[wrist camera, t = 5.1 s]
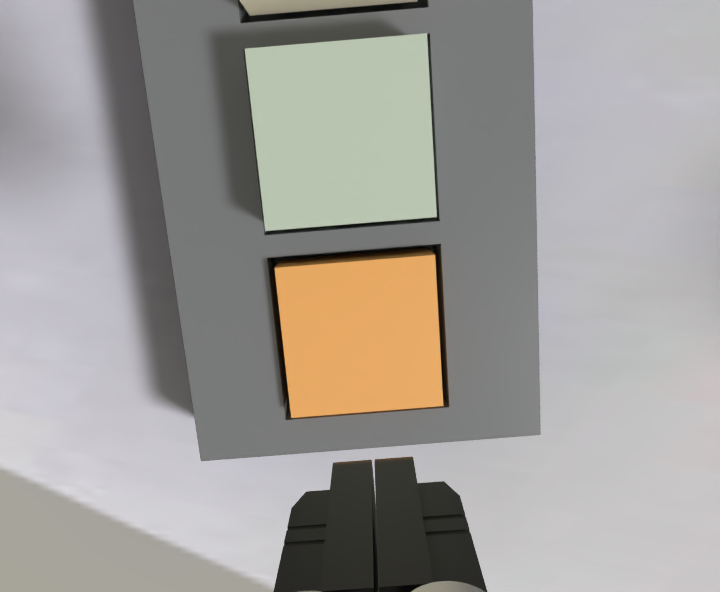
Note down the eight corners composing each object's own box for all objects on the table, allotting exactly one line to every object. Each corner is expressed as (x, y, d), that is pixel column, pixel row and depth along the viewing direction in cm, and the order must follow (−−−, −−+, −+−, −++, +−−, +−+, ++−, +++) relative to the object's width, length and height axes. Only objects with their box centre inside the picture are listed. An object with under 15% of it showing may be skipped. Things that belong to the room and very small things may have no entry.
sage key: (255, 60, 20) (244, 48, 18) (420, 46, 20) (427, 33, 18) (273, 225, 22) (265, 230, 20) (429, 212, 21) (436, 216, 20)
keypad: (133, -181, 21) (97, -237, 18) (503, -213, 21) (527, -275, 18) (218, 427, 26) (201, 461, 23) (519, 404, 26) (540, 434, 23)
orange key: (281, 259, 23) (274, 267, 21) (428, 247, 23) (435, 254, 21) (296, 397, 24) (291, 417, 22) (436, 386, 24) (443, 406, 22)
